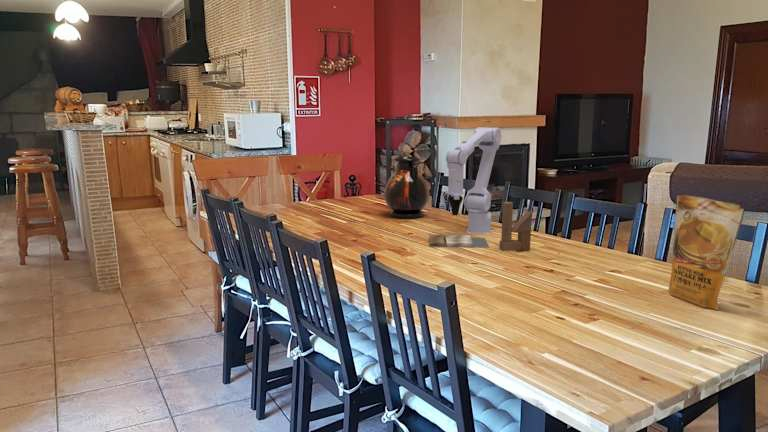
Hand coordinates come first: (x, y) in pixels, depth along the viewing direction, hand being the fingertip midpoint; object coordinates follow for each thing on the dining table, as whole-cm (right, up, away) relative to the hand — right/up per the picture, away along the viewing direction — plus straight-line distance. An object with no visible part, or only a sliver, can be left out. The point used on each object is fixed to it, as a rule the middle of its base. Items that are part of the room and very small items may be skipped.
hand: (455, 215), depth 226 cm
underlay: (+1, -11, -5) cm, 12 cm away
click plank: (+1, -10, -5) cm, 12 cm away
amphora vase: (-17, -1, +51) cm, 54 cm away
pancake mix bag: (+57, -24, -69) cm, 93 cm away
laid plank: (-8, -11, -5) cm, 14 cm away
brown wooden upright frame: (+20, -13, -15) cm, 28 cm away
